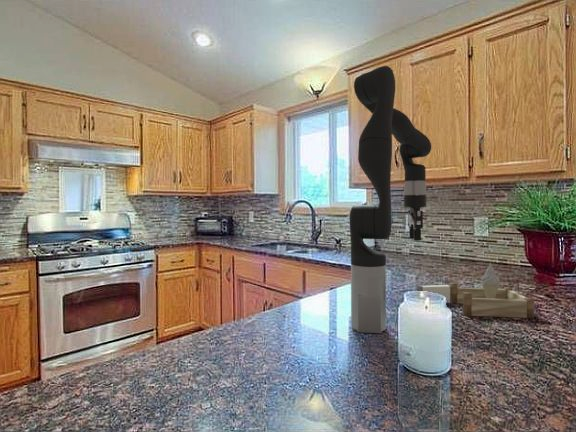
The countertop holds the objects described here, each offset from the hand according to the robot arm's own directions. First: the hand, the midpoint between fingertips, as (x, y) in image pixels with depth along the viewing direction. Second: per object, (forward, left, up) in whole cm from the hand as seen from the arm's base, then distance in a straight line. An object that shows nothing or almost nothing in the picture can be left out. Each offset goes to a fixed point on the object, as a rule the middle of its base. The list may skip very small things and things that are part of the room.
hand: (415, 239), depth 128 cm
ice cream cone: (-12, -21, -21) cm, 32 cm away
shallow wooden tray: (-12, -20, -21) cm, 31 cm away
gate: (-7, -5, -20) cm, 22 cm away
